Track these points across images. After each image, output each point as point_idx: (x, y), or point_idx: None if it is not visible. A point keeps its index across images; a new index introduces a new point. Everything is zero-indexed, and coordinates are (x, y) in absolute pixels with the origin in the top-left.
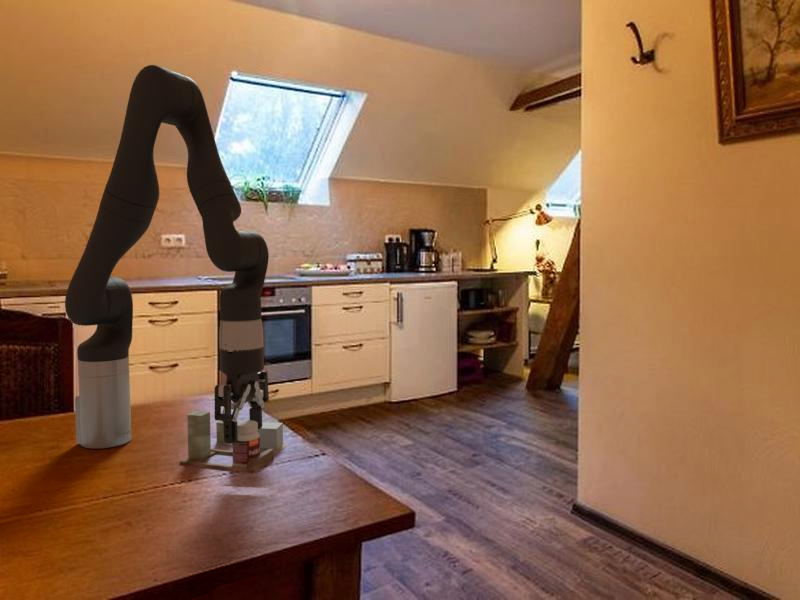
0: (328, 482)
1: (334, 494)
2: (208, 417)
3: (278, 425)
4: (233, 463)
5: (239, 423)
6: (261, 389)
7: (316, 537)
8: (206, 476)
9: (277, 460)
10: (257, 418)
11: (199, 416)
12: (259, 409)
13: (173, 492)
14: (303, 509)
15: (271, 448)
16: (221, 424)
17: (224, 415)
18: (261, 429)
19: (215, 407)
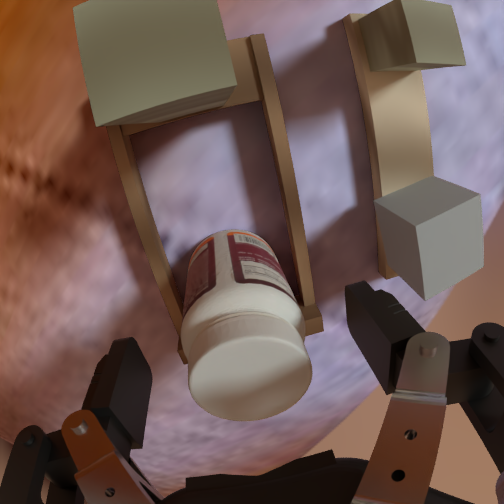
0: (263, 440)
1: (223, 463)
2: (210, 95)
3: (459, 276)
4: (190, 265)
5: (225, 369)
6: (494, 432)
7: None
8: (113, 210)
9: (338, 292)
10: (367, 348)
11: (93, 114)
12: (386, 393)
13: (3, 231)
14: (148, 458)
15: (385, 250)
16: (403, 24)
17: (50, 480)
18: (416, 245)
19: (5, 484)
